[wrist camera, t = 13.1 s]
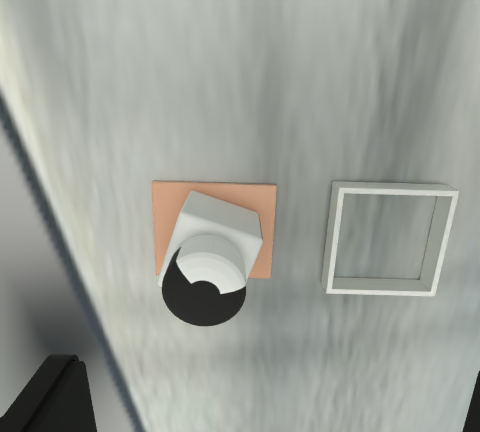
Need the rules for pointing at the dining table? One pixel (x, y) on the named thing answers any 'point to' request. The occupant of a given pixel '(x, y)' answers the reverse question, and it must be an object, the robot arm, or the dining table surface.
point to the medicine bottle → (209, 260)
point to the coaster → (244, 195)
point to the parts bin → (433, 249)
